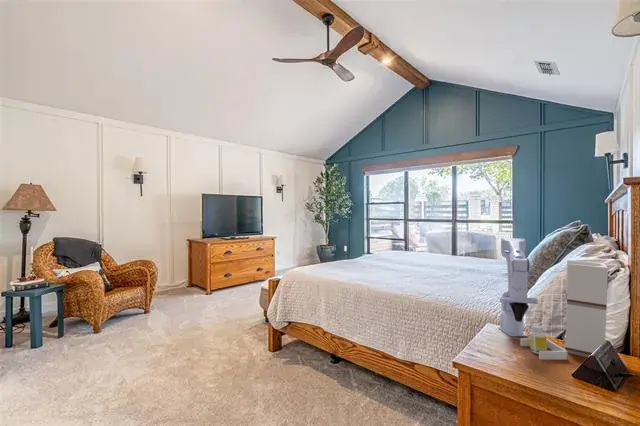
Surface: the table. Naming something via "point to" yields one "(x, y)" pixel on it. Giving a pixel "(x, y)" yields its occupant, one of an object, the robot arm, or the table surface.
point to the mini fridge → (585, 306)
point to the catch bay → (554, 354)
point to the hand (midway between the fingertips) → (518, 320)
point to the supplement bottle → (537, 339)
